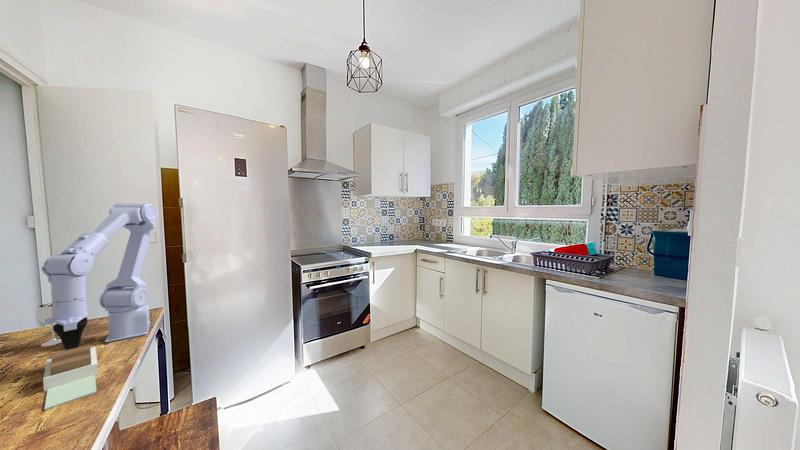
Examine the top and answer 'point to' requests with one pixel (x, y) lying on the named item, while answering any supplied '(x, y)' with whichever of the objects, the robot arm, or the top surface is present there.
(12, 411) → the top surface
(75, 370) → the tray
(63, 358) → the tan cardboard slab
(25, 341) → the top surface
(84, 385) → the mat
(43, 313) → the wineglass
